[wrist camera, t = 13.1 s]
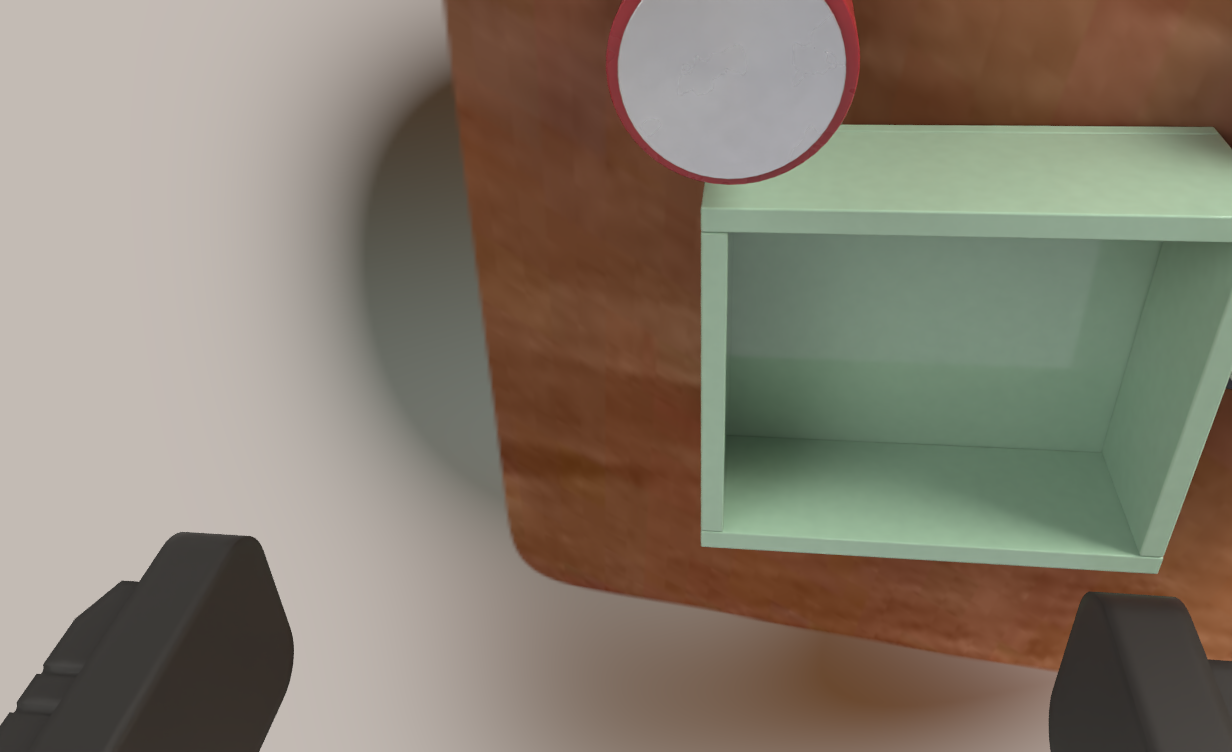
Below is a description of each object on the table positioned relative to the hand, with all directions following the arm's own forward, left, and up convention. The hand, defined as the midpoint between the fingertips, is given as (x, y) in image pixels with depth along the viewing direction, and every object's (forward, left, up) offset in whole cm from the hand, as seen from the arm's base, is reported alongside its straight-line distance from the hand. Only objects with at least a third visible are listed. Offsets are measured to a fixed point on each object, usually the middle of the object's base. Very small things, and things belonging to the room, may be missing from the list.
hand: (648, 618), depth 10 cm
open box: (+12, +7, -26) cm, 30 cm away
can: (0, 0, -26) cm, 26 cm away
